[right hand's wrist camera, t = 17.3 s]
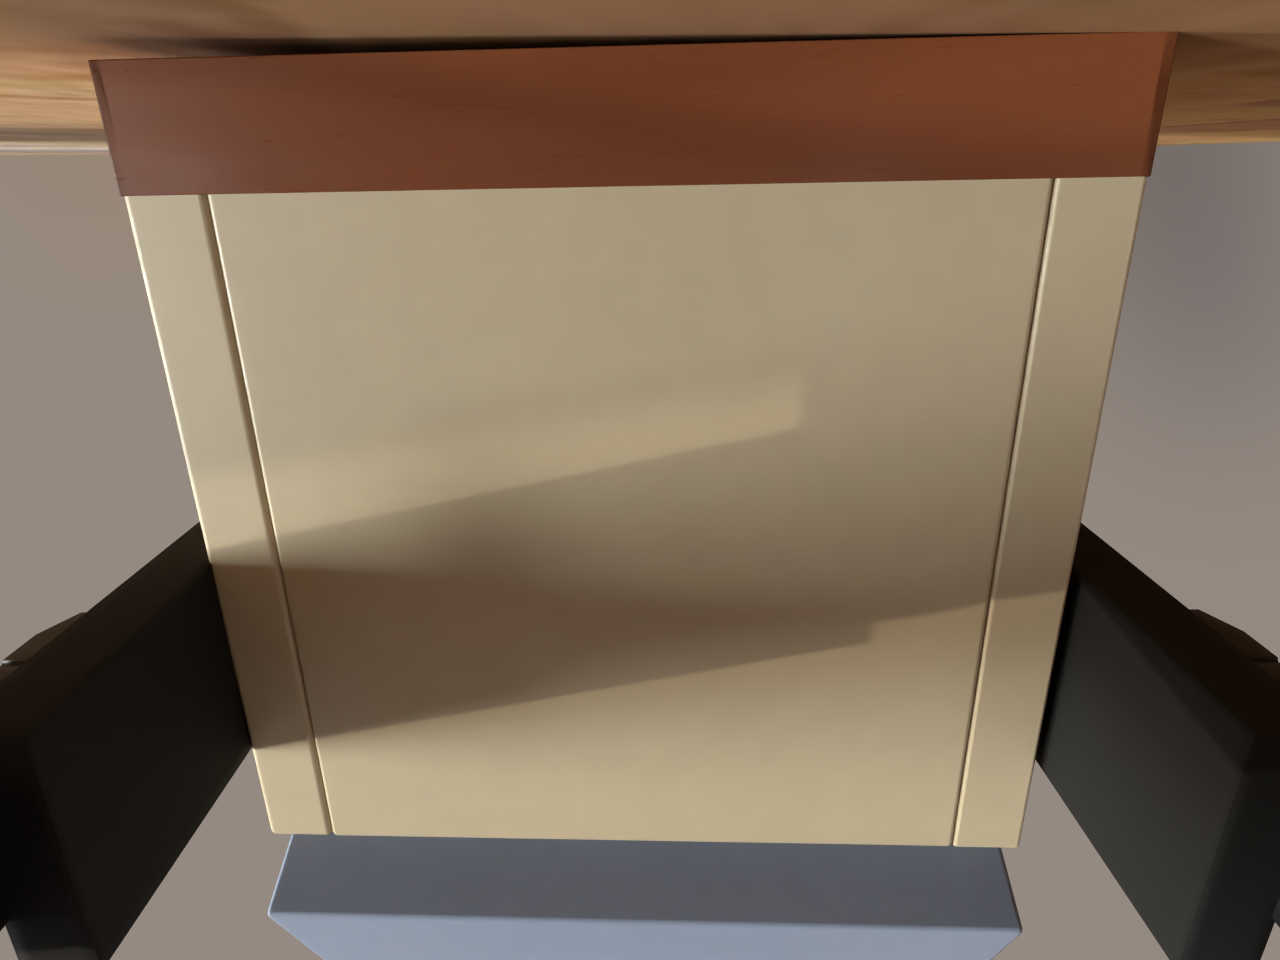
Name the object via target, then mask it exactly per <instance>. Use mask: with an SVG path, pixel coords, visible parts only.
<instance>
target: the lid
mask: <svg viewBox="0 0 1280 960" xmlns="http://www.w3.org/2000/svg"><path fill="white" fill-rule="evenodd" d="M268 916H269V917H270V918H272V919H273V920H274V921H275V922H277V923H278V924H279V925H280V926H282V927H283V928H284V929H286V930H287V931H288V932H289V933H291V934H292V935H293V936H295V937H296V938H297V939H298V940H300V941H301V942H302V943H303V944H305V945H306V946H307V947H309V948H310V949H311V950H312V951H314V952H315V953H316V954H317V955H319V956H320V957H321V958H323V959H324V960H992V959H993V958H994V957H995V956H996V955H997V954H998V953H1000V952H1001V951H1002V950H1003V949H1004V948H1005V947H1006V946H1007V945H1008V944H1010V943H1011V942H1012V941H1013V940H1014V939H1015V938H1016V937H1017V936H1019V935H1020V934H1021V933H1022V926H1021V922H1020V918H1019V914H1018V910H1017V907H1016V903H1015V899H1014V895H1013V892H1012V888H1011V884H1010V880H1009V876H1008V873H1007V869H1006V865H1005V861H1004V857H1003V854H1002V850H1001V847H956V846H954V845H953V843H951V845H949V846H920V845H863V844H807V843H750V842H693V841H637V840H580V839H524V838H467V837H411V836H354V835H336V834H334V833H333V831H332V832H331V833H330V834H327V835H320V834H292V836H291V839H290V842H289V845H288V849H287V852H286V855H285V858H284V861H283V864H282V868H281V871H280V874H279V877H278V880H277V884H276V887H275V890H274V893H273V896H272V899H271V903H270V906H269V909H268Z"/></svg>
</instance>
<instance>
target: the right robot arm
mask: <svg viewBox="0 0 1280 960" xmlns="http://www.w3.org/2000/svg"><path fill="white" fill-rule="evenodd" d="M251 748H252V744H251V739H250V735H249V731H248V726H247V722H246V718H245V713H244V709H243V705H242V700H241V696H240V692H239V687H238V683H237V679H236V675H235V670H234V666H233V662H232V657H231V653H230V648H229V644H228V639H227V634H226V630H225V625H224V621H223V616H222V611H221V607H220V602H219V597H218V593H217V588H216V584H215V579H214V574H213V570H212V565H211V563H210V562H209V558H208V554H207V549H206V545H205V541H204V536H203V532H202V528H201V524H200V522H199V523H197V524H196V525H195V526H194V527H192V528H191V529H190V530H189V531H187V532H186V533H185V534H184V535H182V536H181V537H180V538H179V539H177V540H176V541H175V542H174V543H172V544H171V545H170V546H169V547H167V548H166V549H165V550H164V551H162V552H161V553H160V554H159V555H157V556H156V557H155V558H154V559H152V560H151V561H150V562H149V563H148V564H146V565H145V566H144V567H143V568H141V569H140V570H139V571H138V572H136V573H135V574H134V575H133V576H131V577H130V578H129V579H128V580H126V581H125V582H124V583H123V584H121V585H120V586H119V587H118V588H116V589H115V590H114V591H113V592H111V593H110V594H109V595H108V596H106V597H105V598H104V599H103V600H101V601H100V602H99V603H98V604H96V605H95V606H94V607H93V608H91V609H90V610H89V611H88V612H86V613H79V614H77V615H75V616H73V617H71V618H69V619H67V620H65V621H63V622H61V623H59V624H57V625H55V626H53V627H51V628H49V629H47V630H45V631H43V632H41V633H39V634H37V635H35V636H34V637H32V638H31V639H30V640H29V641H27V642H26V643H25V644H23V645H22V646H21V647H20V648H18V649H17V650H16V651H14V652H13V653H12V654H10V655H9V656H8V657H7V658H5V659H4V660H3V661H2V666H0V931H1V930H2V928H3V927H4V926H6V928H7V931H8V934H9V936H10V939H11V941H12V944H13V947H14V949H15V952H16V954H17V957H18V960H110V958H111V957H112V955H113V954H114V952H115V951H116V949H117V948H118V946H119V945H120V943H121V942H122V940H123V939H124V937H125V936H126V934H127V933H128V931H129V930H130V928H131V927H132V925H133V924H134V922H135V921H136V919H137V918H138V916H139V915H140V913H141V912H142V910H143V909H144V907H145V906H146V905H147V903H148V901H149V900H150V899H151V897H152V896H153V894H154V893H155V891H156V890H157V888H158V887H159V885H160V884H161V882H162V881H163V879H164V878H165V876H166V875H167V873H168V872H169V870H170V869H171V867H172V866H173V864H174V863H175V861H176V860H177V858H178V857H179V855H180V854H181V852H182V851H183V849H184V848H185V846H186V845H187V843H188V842H189V840H190V839H191V837H192V836H193V834H194V833H195V831H196V830H197V828H198V827H199V825H200V824H201V822H202V821H203V819H204V818H205V816H206V815H207V813H208V812H209V810H210V809H211V807H212V806H213V804H214V803H215V801H216V800H217V799H218V797H219V796H220V794H221V793H222V791H223V790H224V788H225V787H226V785H227V784H228V782H229V781H230V779H231V778H232V776H233V775H234V773H235V772H236V770H237V769H238V767H239V766H240V764H241V763H242V761H243V760H244V758H245V757H246V755H247V754H248V752H249V751H250V749H251ZM1035 759H1036V761H1037V762H1038V764H1039V765H1040V767H1041V768H1042V770H1043V771H1044V773H1045V774H1046V776H1047V777H1048V779H1049V780H1050V782H1051V783H1052V785H1053V786H1054V788H1055V789H1056V791H1057V792H1058V794H1059V795H1060V797H1061V798H1062V800H1063V801H1064V803H1065V804H1066V806H1067V807H1068V809H1069V810H1070V811H1071V813H1072V815H1073V816H1074V818H1075V819H1076V820H1077V822H1078V824H1079V825H1080V826H1081V828H1082V830H1083V831H1084V833H1085V834H1086V835H1087V837H1088V839H1089V840H1090V842H1091V843H1092V844H1093V846H1094V847H1095V849H1096V850H1097V852H1098V853H1099V855H1100V856H1101V858H1102V859H1103V861H1104V862H1105V864H1106V865H1107V867H1108V868H1109V870H1110V871H1111V873H1112V874H1113V876H1114V877H1115V879H1116V880H1117V882H1118V883H1119V885H1120V886H1121V888H1122V889H1123V891H1124V892H1125V894H1126V895H1127V897H1128V898H1129V900H1130V901H1131V903H1132V904H1133V906H1134V907H1135V909H1136V910H1137V912H1138V913H1139V915H1140V916H1141V918H1142V919H1143V921H1144V922H1145V924H1146V925H1147V926H1148V928H1149V930H1150V931H1151V933H1152V934H1153V936H1154V937H1155V939H1156V940H1157V942H1158V943H1159V944H1160V946H1161V948H1162V949H1163V951H1164V952H1165V954H1166V955H1167V956H1168V958H1169V960H1260V959H1261V957H1262V954H1263V951H1264V949H1265V946H1266V944H1267V941H1268V938H1269V936H1270V933H1271V930H1272V928H1273V925H1274V923H1275V922H1276V924H1277V925H1278V926H1279V927H1280V663H1279V662H1278V657H1276V656H1275V655H1274V654H1272V653H1271V652H1270V651H1269V650H1267V649H1266V648H1265V647H1263V646H1262V645H1261V644H1259V643H1258V642H1257V641H1256V640H1254V639H1253V638H1252V637H1250V636H1249V635H1248V634H1246V633H1245V632H1244V631H1242V630H1240V629H1238V628H1235V627H1233V626H1231V625H1229V624H1227V623H1225V622H1223V621H1221V620H1219V619H1217V618H1215V617H1213V616H1211V615H1209V614H1207V613H1205V612H1203V611H1201V610H1189V609H1188V608H1186V607H1185V606H1184V605H1183V604H1182V603H1180V602H1179V601H1178V600H1177V599H1175V598H1174V597H1173V596H1171V595H1170V594H1169V593H1168V592H1167V591H1165V590H1164V589H1163V588H1162V587H1160V586H1159V585H1158V584H1157V583H1155V582H1154V581H1153V580H1152V579H1150V578H1149V577H1148V576H1147V575H1145V574H1144V573H1143V572H1142V571H1140V570H1139V569H1138V568H1137V567H1135V566H1134V565H1133V564H1132V563H1130V562H1129V561H1128V560H1127V559H1125V558H1124V557H1123V556H1122V555H1120V554H1119V553H1118V552H1117V551H1115V550H1114V549H1113V548H1112V547H1110V546H1109V545H1108V544H1107V543H1105V542H1104V541H1103V540H1102V539H1101V538H1099V537H1098V536H1097V535H1096V534H1094V533H1093V532H1092V531H1091V530H1089V529H1088V528H1087V527H1086V526H1084V525H1083V524H1082V523H1080V529H1079V534H1078V539H1077V544H1076V549H1075V555H1074V560H1073V565H1072V570H1071V576H1070V581H1069V586H1068V591H1067V596H1066V602H1065V607H1064V612H1063V617H1062V623H1061V628H1060V633H1059V638H1058V643H1057V649H1056V654H1055V659H1054V664H1053V670H1052V675H1051V680H1050V685H1049V690H1048V696H1047V701H1046V706H1045V711H1044V717H1043V722H1042V727H1041V732H1040V737H1039V743H1038V748H1037V753H1036V758H1035Z"/></svg>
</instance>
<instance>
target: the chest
mask: <svg viewBox="0 0 1280 960" xmlns="http://www.w3.org/2000/svg"><path fill="white" fill-rule="evenodd" d="M1177 37H1178V32H1109V33H1069V34H1032V35H995V36H958V37H921V38H884V39H847V40H810V41H773V42H736V43H699V44H662V45H625V46H588V47H551V48H515V49H478V50H441V51H404V52H367V53H330V54H293V55H256V56H219V57H182V58H145V59H108V60H89V61H88V62H89V66H90V71H91V75H92V79H93V83H94V88H95V92H96V96H97V100H98V105H99V109H100V113H101V118H102V122H103V126H104V130H105V135H106V139H107V143H108V147H109V152H110V156H111V160H112V165H113V169H114V173H115V177H116V182H117V186H118V190H119V194H120V196H125V200H126V204H127V209H128V213H129V217H130V222H131V226H132V230H133V235H134V239H135V243H136V247H137V252H138V256H139V260H140V265H141V269H142V273H143V278H144V282H145V286H146V291H147V295H148V299H149V304H150V308H151V312H152V317H153V321H154V325H155V329H156V334H157V338H158V342H159V347H160V351H161V355H162V360H163V364H164V368H165V373H166V377H167V381H168V385H169V390H170V394H171V398H172V403H173V407H174V411H175V416H176V420H177V424H178V428H179V433H180V437H181V442H182V446H183V450H184V455H185V459H186V463H187V467H188V472H189V476H190V480H191V485H192V489H193V493H194V498H195V502H196V506H197V511H198V515H199V519H200V524H201V528H202V532H203V536H204V541H205V545H206V549H207V554H208V558H209V562H210V563H211V565H212V570H213V574H214V579H215V584H216V588H217V593H218V597H219V602H220V607H221V611H222V616H223V621H224V625H225V630H226V634H227V639H228V644H229V648H230V653H231V657H232V662H233V666H234V670H235V675H236V679H237V683H238V687H239V692H240V696H241V700H242V705H243V709H244V713H245V718H246V722H247V726H248V731H249V735H250V739H251V744H252V748H253V752H254V756H255V761H256V765H257V769H258V774H259V778H260V782H261V787H262V791H263V795H264V799H265V804H266V808H267V813H268V817H269V821H270V825H271V830H272V831H273V833H276V834H320V835H327V834H330V833H331V832H332V831H333V833H334V834H336V835H354V836H411V837H467V838H524V839H580V840H637V841H693V842H750V843H807V844H863V845H920V846H949V845H951V843H953V845H954V846H956V847H1003V848H1016V847H1018V846H1019V842H1020V837H1021V831H1022V826H1023V821H1024V815H1025V810H1026V805H1027V800H1028V795H1029V790H1030V784H1031V779H1032V774H1033V769H1034V763H1035V758H1036V753H1037V748H1038V743H1039V737H1040V732H1041V727H1042V722H1043V717H1044V711H1045V706H1046V701H1047V696H1048V690H1049V685H1050V680H1051V675H1052V670H1053V664H1054V659H1055V654H1056V649H1057V643H1058V638H1059V633H1060V628H1061V623H1062V617H1063V612H1064V607H1065V602H1066V596H1067V591H1068V586H1069V581H1070V576H1071V570H1072V565H1073V560H1074V555H1075V549H1076V544H1077V539H1078V534H1079V529H1080V523H1081V518H1082V513H1083V508H1084V503H1085V497H1086V492H1087V487H1088V482H1089V476H1090V471H1091V466H1092V461H1093V456H1094V450H1095V445H1096V440H1097V435H1098V429H1099V424H1100V419H1101V414H1102V408H1103V403H1104V398H1105V393H1106V388H1107V382H1108V377H1109V372H1110V366H1111V362H1112V356H1113V351H1114V346H1115V341H1116V335H1117V330H1118V325H1119V320H1120V315H1121V309H1122V304H1123V299H1124V294H1125V288H1126V283H1127V278H1128V273H1129V267H1130V262H1131V257H1132V252H1133V247H1134V241H1135V236H1136V231H1137V226H1138V221H1139V215H1140V210H1141V205H1142V200H1143V194H1144V189H1145V184H1146V179H1147V177H1149V176H1151V171H1152V166H1153V161H1154V156H1155V150H1156V145H1157V140H1158V135H1159V130H1160V125H1161V119H1162V114H1163V109H1164V104H1165V99H1166V94H1167V88H1168V83H1169V78H1170V73H1171V68H1172V62H1173V57H1174V52H1175V47H1176V42H1177Z"/></svg>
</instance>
